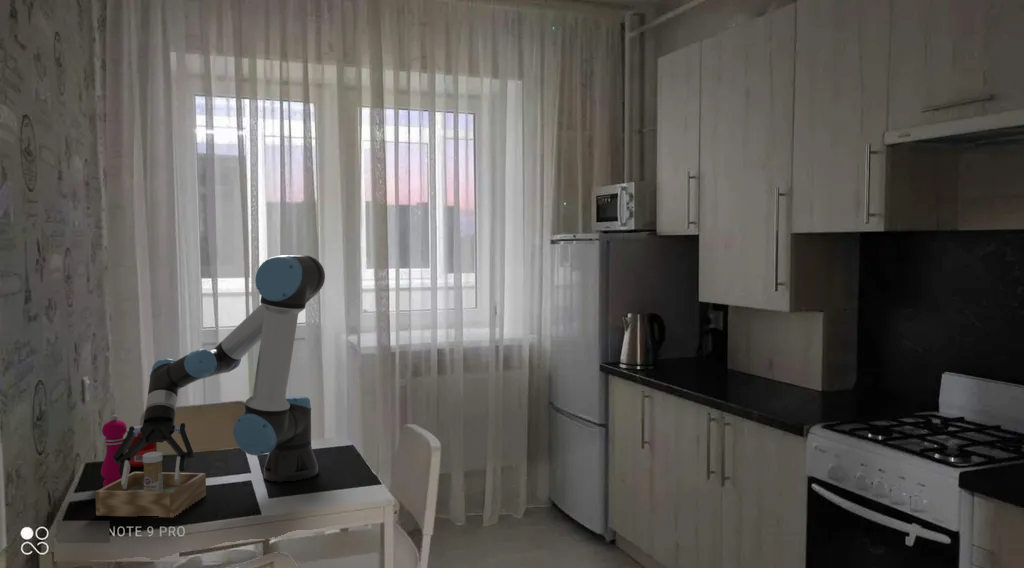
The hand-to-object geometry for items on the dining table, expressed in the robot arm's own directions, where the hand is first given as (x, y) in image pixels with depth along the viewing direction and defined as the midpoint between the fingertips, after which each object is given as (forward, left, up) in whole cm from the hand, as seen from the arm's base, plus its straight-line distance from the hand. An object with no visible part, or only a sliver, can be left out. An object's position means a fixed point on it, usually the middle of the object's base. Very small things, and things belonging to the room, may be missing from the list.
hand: (150, 484), depth 184 cm
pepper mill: (+20, -17, -7) cm, 27 cm away
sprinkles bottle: (+1, -3, -7) cm, 7 cm away
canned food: (+25, -38, -7) cm, 46 cm away
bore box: (+1, -3, -6) cm, 7 cm away
